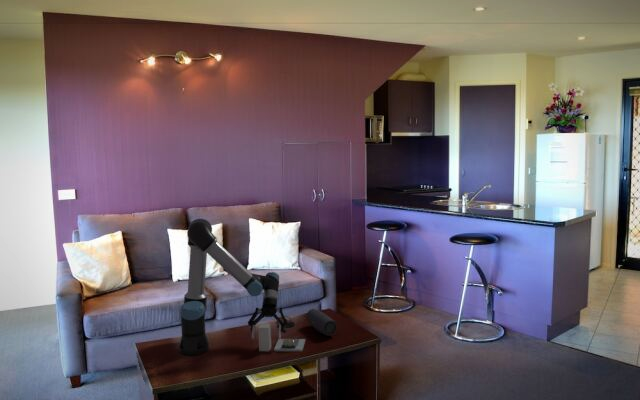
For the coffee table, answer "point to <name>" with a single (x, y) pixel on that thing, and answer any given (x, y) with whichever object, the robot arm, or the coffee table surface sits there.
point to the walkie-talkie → (289, 322)
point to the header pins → (288, 344)
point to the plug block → (264, 337)
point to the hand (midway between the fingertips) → (266, 338)
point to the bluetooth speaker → (321, 322)
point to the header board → (297, 342)
